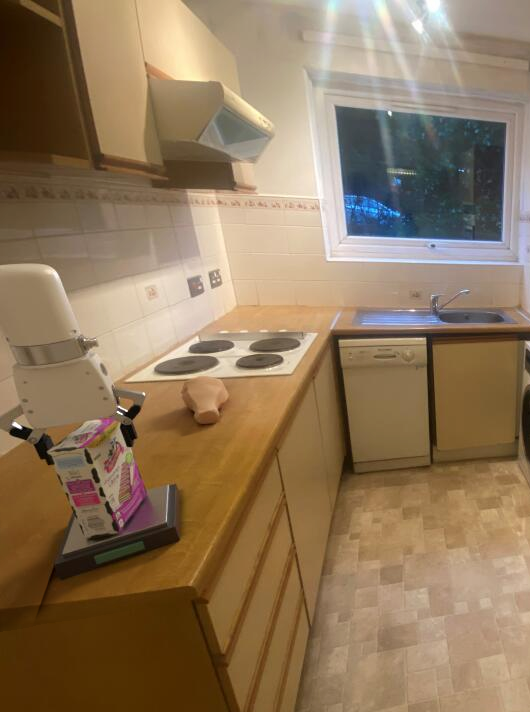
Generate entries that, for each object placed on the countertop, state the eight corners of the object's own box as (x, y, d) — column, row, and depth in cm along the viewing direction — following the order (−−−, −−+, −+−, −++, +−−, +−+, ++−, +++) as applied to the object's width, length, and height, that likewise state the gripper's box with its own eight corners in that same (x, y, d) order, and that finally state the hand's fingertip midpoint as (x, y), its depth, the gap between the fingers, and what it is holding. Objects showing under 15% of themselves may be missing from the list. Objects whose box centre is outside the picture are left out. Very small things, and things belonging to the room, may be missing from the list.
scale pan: (63, 558, 67) (61, 554, 67) (79, 512, 77) (77, 509, 77) (167, 525, 74) (166, 521, 74) (169, 487, 84) (168, 484, 83)
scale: (60, 582, 67) (52, 567, 65) (78, 525, 78) (72, 511, 77) (179, 542, 74) (174, 528, 73) (180, 495, 86) (176, 483, 85)
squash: (226, 395, 131) (225, 368, 128) (234, 429, 118) (234, 399, 114) (181, 398, 125) (179, 370, 121) (185, 434, 111) (182, 403, 108)
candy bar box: (122, 533, 71) (85, 447, 65) (84, 540, 69) (42, 452, 63) (150, 493, 81) (121, 415, 74) (118, 498, 79) (85, 419, 73)
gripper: (129, 336, 71) (161, 428, 78) (-27, 354, 62) (24, 458, 68) (125, 347, 65) (159, 446, 72) (-48, 370, 56) (10, 481, 63)
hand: (93, 452), depth 70 cm, fingers open, 9 cm apart
